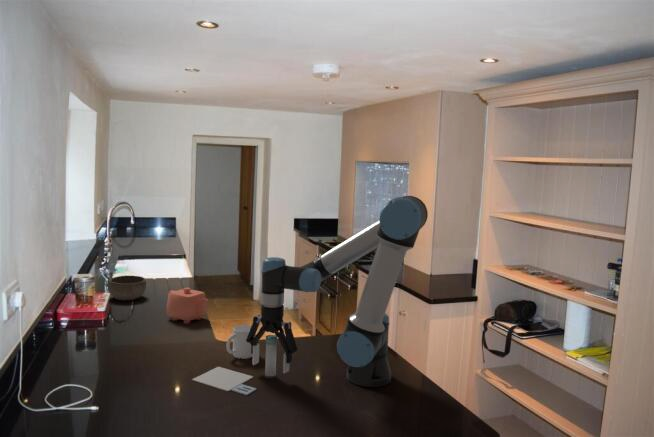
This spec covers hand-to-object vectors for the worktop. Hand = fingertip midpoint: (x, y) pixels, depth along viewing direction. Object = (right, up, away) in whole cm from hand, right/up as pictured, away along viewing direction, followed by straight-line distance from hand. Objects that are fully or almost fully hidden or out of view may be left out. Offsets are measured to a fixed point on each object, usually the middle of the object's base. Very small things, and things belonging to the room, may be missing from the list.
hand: (270, 367), depth 177 cm
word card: (-7, -4, -11) cm, 13 cm away
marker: (0, -3, 0) cm, 3 cm away
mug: (-13, -1, +18) cm, 22 cm away
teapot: (-43, +5, +59) cm, 73 cm away
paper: (-15, -3, -3) cm, 16 cm away
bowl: (-81, +10, +88) cm, 120 cm away
